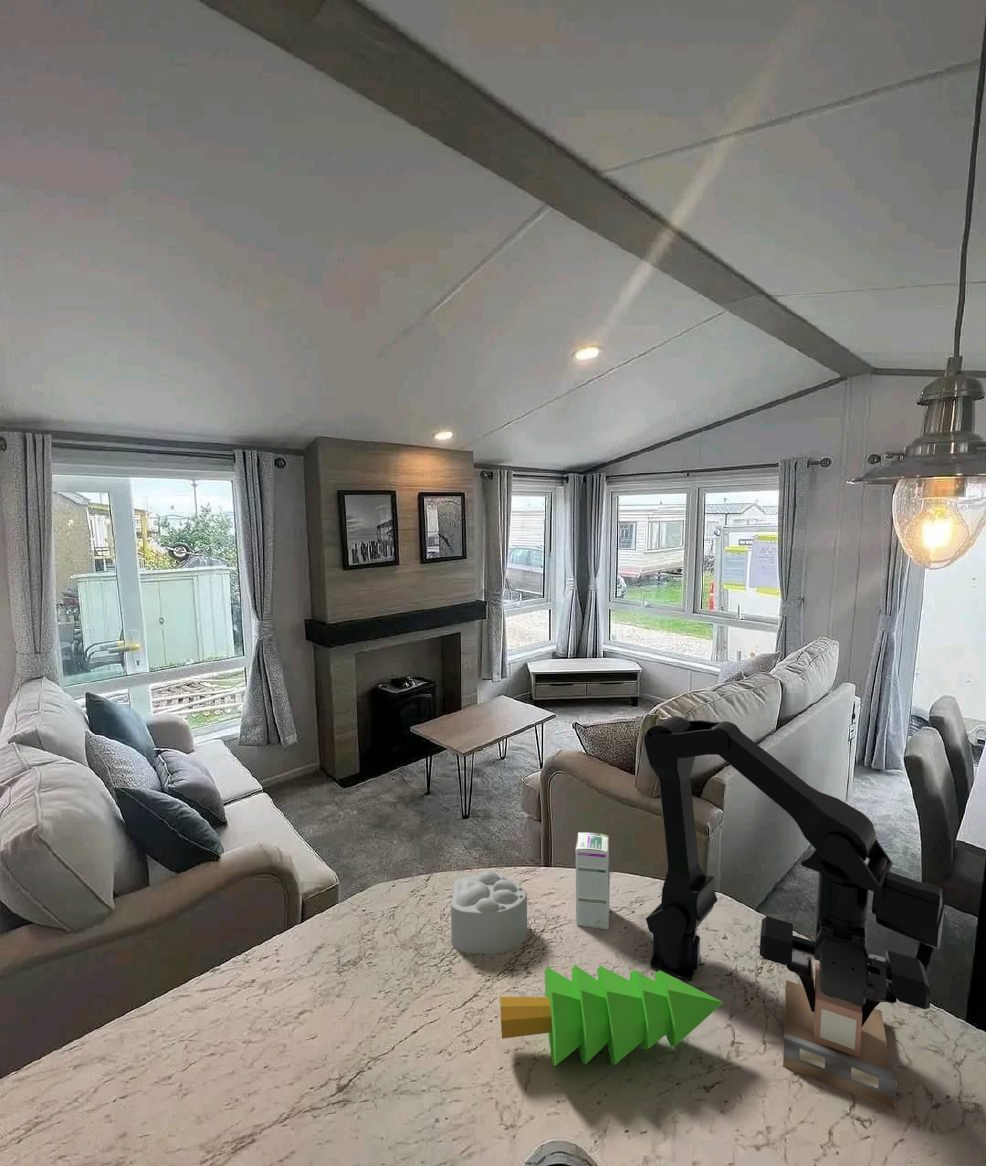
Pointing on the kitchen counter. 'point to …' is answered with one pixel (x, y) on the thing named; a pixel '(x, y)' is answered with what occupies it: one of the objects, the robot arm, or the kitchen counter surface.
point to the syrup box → (592, 880)
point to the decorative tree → (606, 1012)
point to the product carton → (836, 1021)
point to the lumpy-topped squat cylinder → (488, 914)
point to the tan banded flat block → (838, 1053)
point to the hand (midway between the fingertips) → (835, 1017)
